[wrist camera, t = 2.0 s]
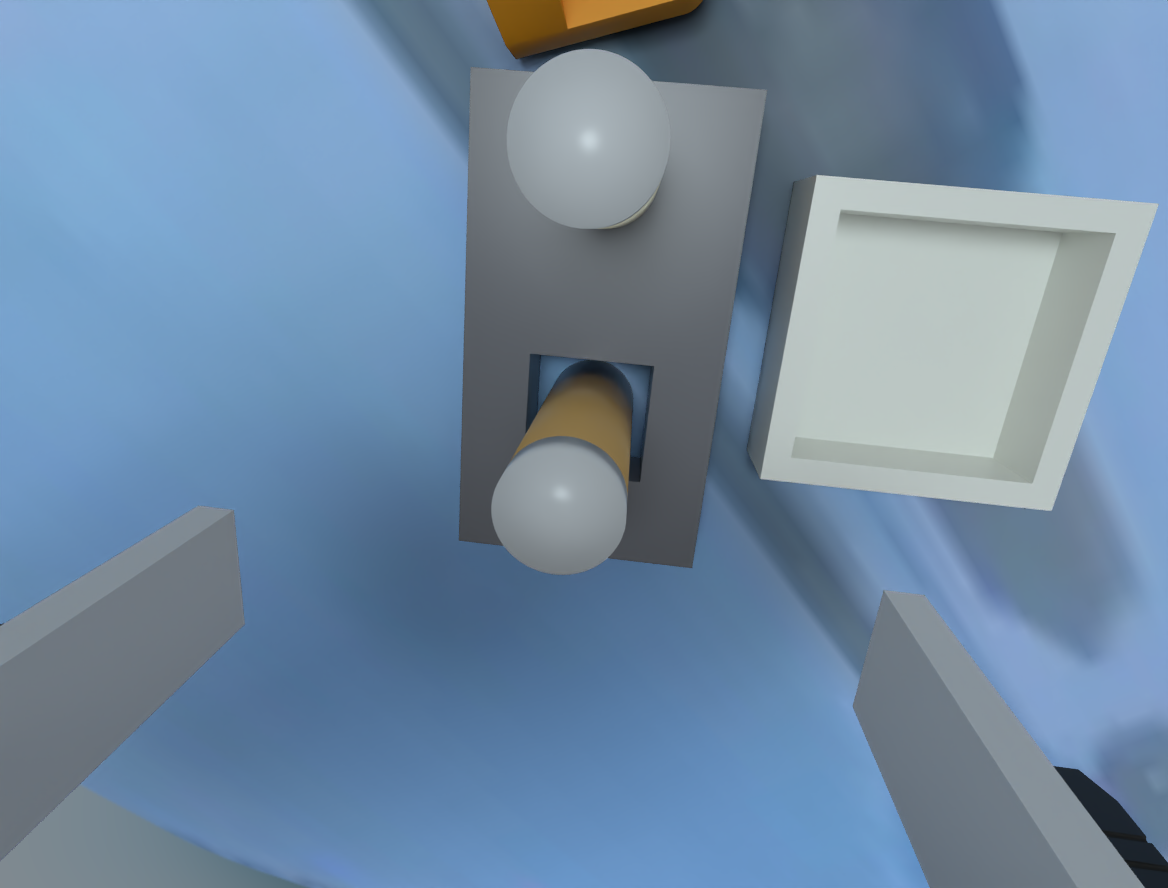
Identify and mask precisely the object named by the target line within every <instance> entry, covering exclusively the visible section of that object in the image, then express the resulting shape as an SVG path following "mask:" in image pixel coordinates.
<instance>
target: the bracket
mask: <svg viewBox="0 0 1168 888" xmlns="http://www.w3.org/2000/svg"><path fill="white" fill-rule="evenodd" d="M702 1H703V0H487V2H488V5H489V7H490V9H491V12H492V14H493V17H494V19H495V21H496V24H497V26H498V28H499V31H500V33H501V35H502V38H503V40H504V42H505V45H506V47H507V48H508V49H509V50H510V52H511V53H512V54H513V56H514V57H515V58H516V59H519V58H523V57H526V56H530V55H534V54H538V53H541V52H545V51H549V50H553V49H556V48H560V47H564V46H568V45H571V44H575V43H579V42H583V41H586V40H590V39H594V38H598V37H601V36H605V35H609V34H612V33H616V32H620V31H624V30H627V29H631V28H635V27H639V26H642V25H646V24H650V23H654V22H657V21H661V20H665V19H669V18H672V17H676V16H680V15H684V14H687V13H689V12H691V11H693V10H694V9H695V8H696V7H698V6H699V4H700V3H701V2H702Z"/></svg>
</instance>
